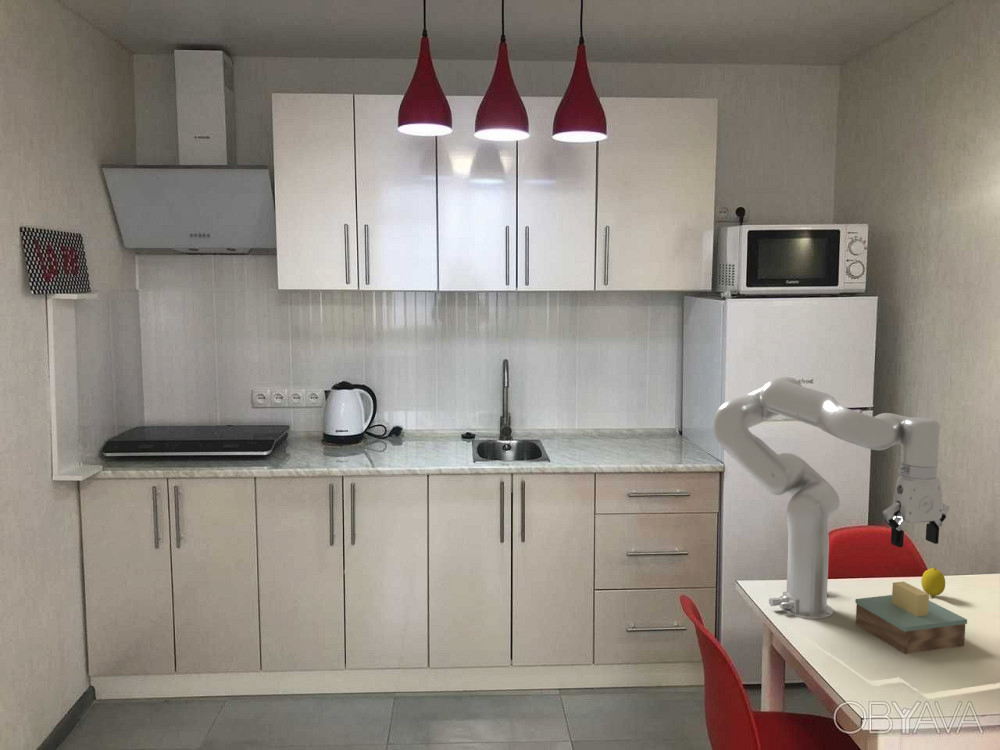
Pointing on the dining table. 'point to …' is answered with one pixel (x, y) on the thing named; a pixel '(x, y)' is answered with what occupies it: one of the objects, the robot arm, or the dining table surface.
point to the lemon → (933, 582)
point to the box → (910, 634)
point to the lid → (910, 609)
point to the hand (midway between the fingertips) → (914, 543)
